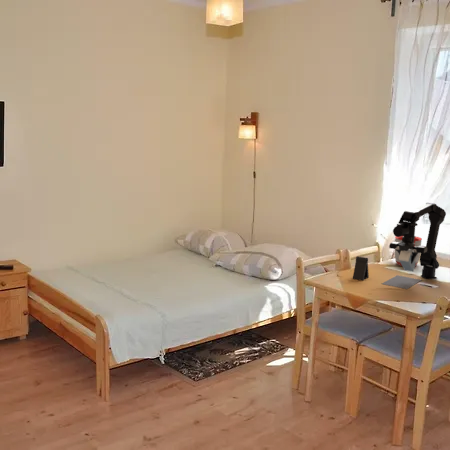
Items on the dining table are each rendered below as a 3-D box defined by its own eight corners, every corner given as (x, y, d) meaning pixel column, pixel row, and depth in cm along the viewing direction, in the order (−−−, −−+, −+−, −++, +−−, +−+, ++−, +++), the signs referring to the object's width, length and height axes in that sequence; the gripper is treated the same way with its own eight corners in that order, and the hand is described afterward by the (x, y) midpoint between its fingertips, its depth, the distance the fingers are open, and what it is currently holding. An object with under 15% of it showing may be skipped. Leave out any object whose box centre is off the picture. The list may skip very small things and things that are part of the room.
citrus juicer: (394, 267, 329) (397, 235, 325) (391, 260, 346) (394, 229, 342) (422, 269, 326) (424, 236, 322) (417, 262, 343) (420, 231, 339)
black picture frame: (362, 280, 301) (364, 259, 299) (352, 278, 304) (353, 258, 302) (368, 277, 308) (370, 256, 306) (358, 275, 312) (359, 254, 309)
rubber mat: (397, 275, 312) (397, 275, 311) (421, 280, 303) (421, 279, 303) (381, 284, 295) (381, 283, 295) (407, 289, 286) (407, 288, 286)
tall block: (407, 262, 302) (400, 250, 291) (415, 263, 299) (409, 252, 289) (404, 270, 300) (398, 258, 290) (413, 271, 297) (407, 260, 287)
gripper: (386, 234, 291) (384, 263, 294) (421, 239, 279) (419, 269, 283) (394, 231, 299) (392, 258, 302) (428, 235, 288) (426, 264, 291)
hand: (407, 262), depth 294 cm, fingers closed on tall block, 5 cm apart
